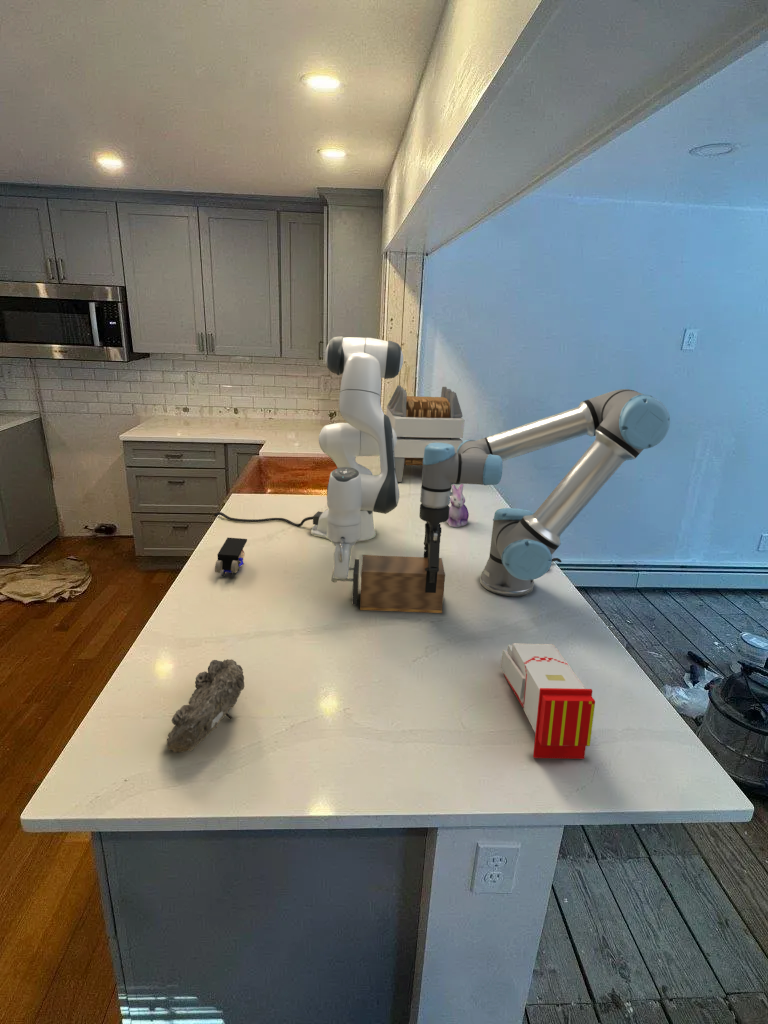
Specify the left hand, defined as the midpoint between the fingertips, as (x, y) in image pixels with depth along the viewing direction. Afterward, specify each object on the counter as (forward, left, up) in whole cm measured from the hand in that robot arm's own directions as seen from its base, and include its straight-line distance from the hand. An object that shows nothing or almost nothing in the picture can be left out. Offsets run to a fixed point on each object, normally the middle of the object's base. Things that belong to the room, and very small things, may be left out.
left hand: (343, 578), depth 151 cm
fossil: (-7, -52, -6) cm, 53 cm away
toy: (+52, -29, -6) cm, 60 cm away
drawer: (+10, +3, -5) cm, 11 cm away
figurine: (+20, +70, -6) cm, 73 cm away
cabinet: (+15, +4, -6) cm, 17 cm away
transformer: (-8, +132, -6) cm, 132 cm away
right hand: (+22, +6, 0) cm, 23 cm away
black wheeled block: (-37, +6, -6) cm, 38 cm away
